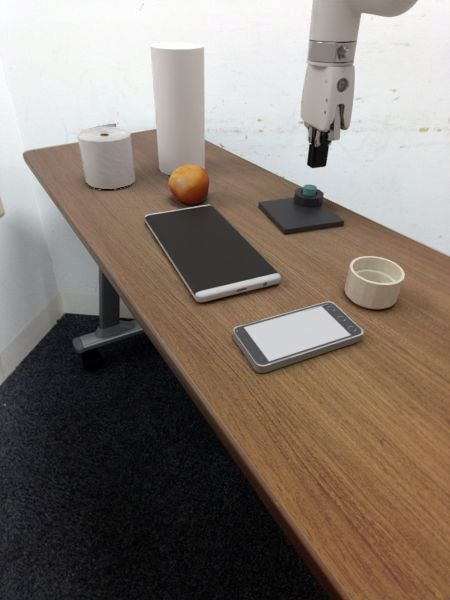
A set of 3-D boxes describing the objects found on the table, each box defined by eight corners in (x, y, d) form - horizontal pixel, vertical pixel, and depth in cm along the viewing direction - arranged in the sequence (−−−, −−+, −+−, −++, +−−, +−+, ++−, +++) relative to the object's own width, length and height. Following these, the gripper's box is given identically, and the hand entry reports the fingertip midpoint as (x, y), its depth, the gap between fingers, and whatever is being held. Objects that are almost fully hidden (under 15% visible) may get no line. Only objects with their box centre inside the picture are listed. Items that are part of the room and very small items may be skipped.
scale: (312, 199, 87) (315, 186, 85) (344, 226, 78) (347, 211, 76) (257, 207, 84) (258, 192, 82) (284, 235, 75) (286, 219, 73)
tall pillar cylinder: (170, 179, 94) (162, 49, 79) (152, 164, 102) (142, 43, 87) (212, 172, 98) (213, 47, 83) (192, 158, 106) (190, 41, 91)
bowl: (376, 278, 64) (383, 252, 62) (406, 306, 59) (416, 279, 56) (334, 286, 62) (340, 260, 60) (362, 316, 57) (369, 288, 54)
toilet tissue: (94, 194, 87) (85, 144, 81) (78, 175, 95) (69, 128, 89) (143, 185, 91) (138, 137, 85) (124, 167, 99) (118, 122, 93)
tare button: (311, 191, 84) (312, 183, 83) (318, 196, 82) (319, 188, 81) (299, 192, 83) (300, 185, 82) (306, 197, 81) (307, 190, 81)
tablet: (197, 306, 58) (196, 296, 57) (143, 222, 77) (142, 213, 76) (282, 285, 62) (283, 275, 61) (211, 211, 82) (211, 202, 81)
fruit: (225, 194, 85) (207, 163, 79) (196, 220, 84) (176, 192, 78) (203, 180, 90) (185, 151, 84) (176, 205, 89) (156, 178, 83)
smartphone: (366, 333, 52) (258, 368, 47) (364, 339, 53) (258, 374, 48) (331, 300, 58) (230, 328, 52) (329, 306, 58) (230, 334, 53)
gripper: (378, 58, 64) (356, 177, 75) (328, 47, 75) (314, 152, 86) (334, 60, 62) (318, 182, 73) (289, 48, 73) (281, 156, 84)
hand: (316, 165), depth 79 cm, fingers closed
